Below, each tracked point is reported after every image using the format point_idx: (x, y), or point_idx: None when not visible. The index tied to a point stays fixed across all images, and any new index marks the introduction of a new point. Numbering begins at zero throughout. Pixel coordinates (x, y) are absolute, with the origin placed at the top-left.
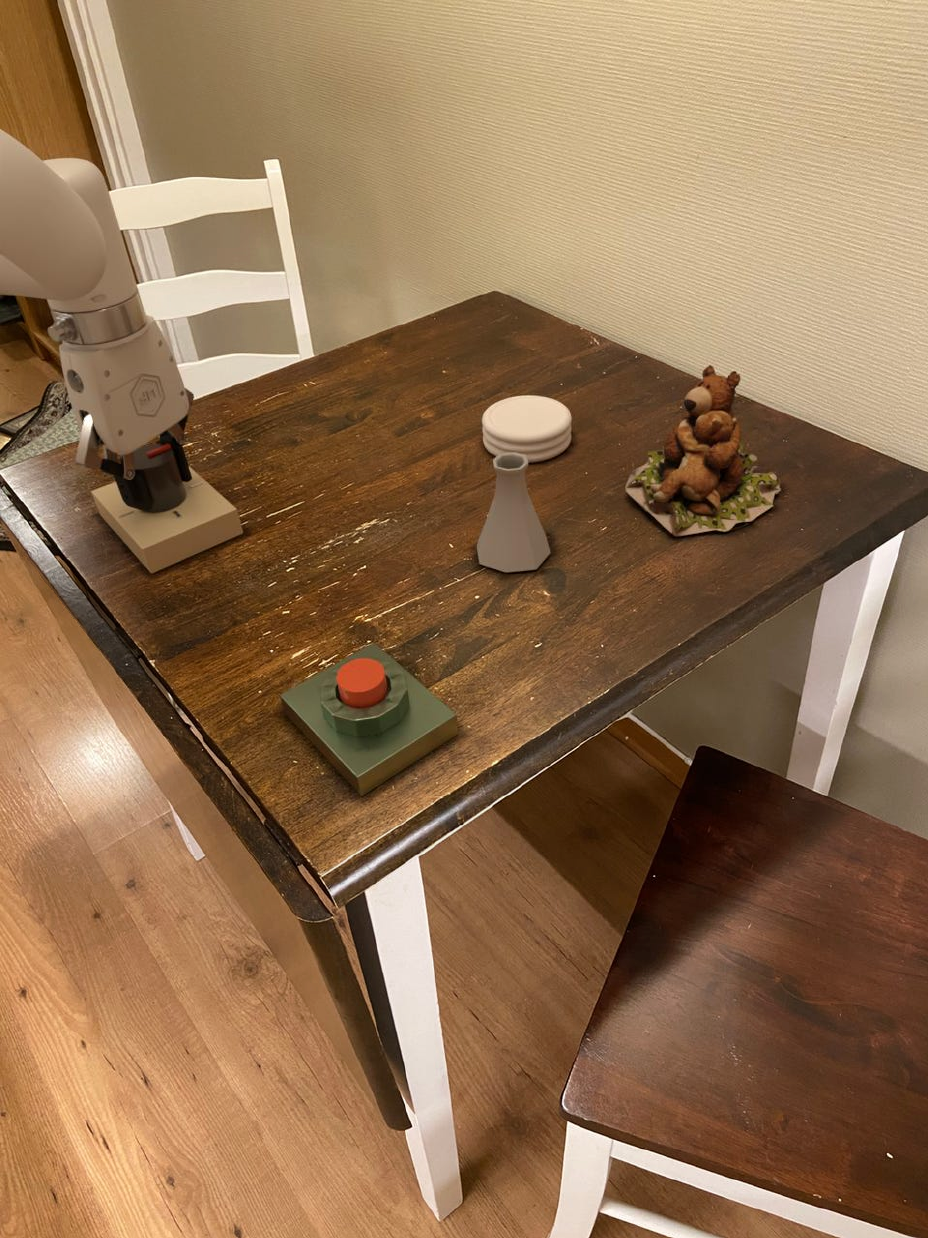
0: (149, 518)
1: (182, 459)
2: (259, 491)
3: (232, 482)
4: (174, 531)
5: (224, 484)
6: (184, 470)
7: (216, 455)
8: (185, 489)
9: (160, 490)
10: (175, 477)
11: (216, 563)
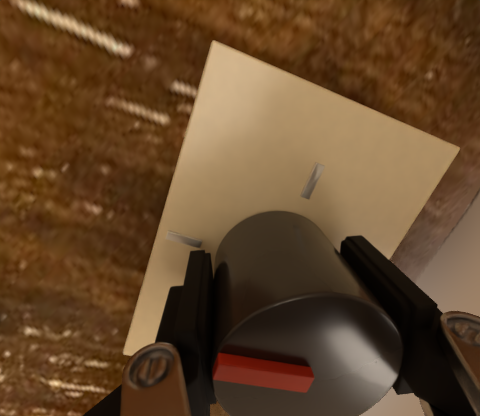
0: (345, 230)
1: (199, 294)
2: (67, 154)
3: (85, 233)
4: (376, 130)
5: (101, 242)
6: (205, 270)
7: (43, 325)
8: (212, 249)
9: (329, 246)
10: (272, 249)
11: (335, 28)
